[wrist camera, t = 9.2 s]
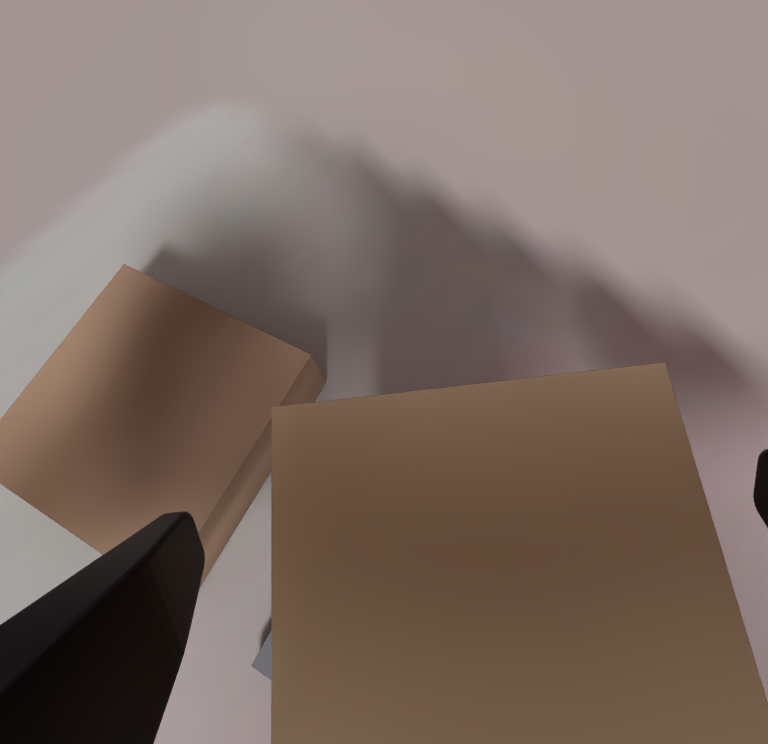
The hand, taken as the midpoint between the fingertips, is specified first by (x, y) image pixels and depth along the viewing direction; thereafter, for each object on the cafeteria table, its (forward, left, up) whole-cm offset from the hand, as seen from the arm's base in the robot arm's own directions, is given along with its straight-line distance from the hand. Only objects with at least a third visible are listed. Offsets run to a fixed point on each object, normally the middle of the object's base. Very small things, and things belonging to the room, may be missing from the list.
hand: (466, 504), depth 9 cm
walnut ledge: (+9, +1, -7) cm, 11 cm away
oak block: (-1, +1, -6) cm, 6 cm away
